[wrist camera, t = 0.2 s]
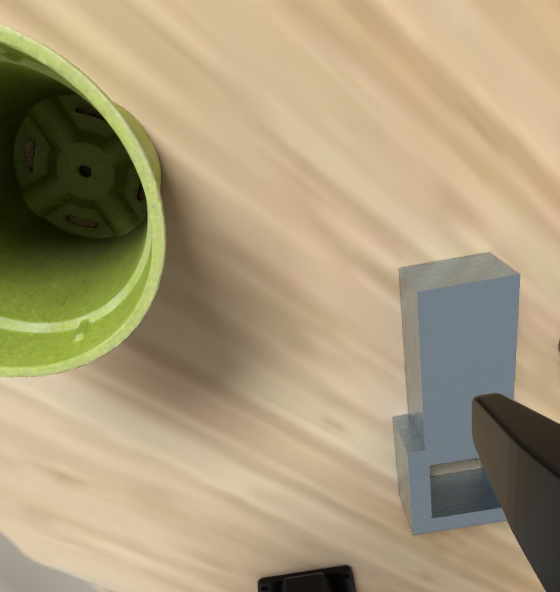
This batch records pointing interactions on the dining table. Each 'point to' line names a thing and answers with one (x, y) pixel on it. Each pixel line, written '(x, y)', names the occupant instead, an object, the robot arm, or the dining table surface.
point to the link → (452, 383)
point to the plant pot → (71, 201)
